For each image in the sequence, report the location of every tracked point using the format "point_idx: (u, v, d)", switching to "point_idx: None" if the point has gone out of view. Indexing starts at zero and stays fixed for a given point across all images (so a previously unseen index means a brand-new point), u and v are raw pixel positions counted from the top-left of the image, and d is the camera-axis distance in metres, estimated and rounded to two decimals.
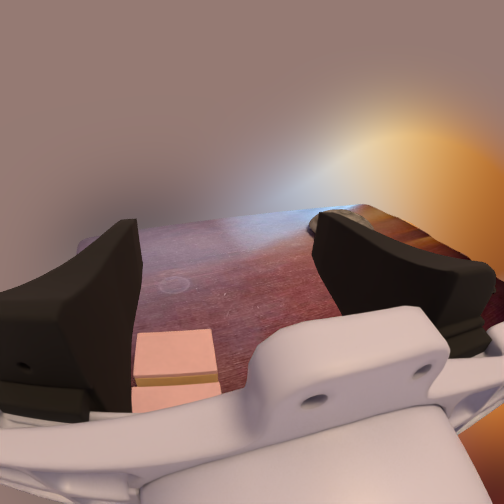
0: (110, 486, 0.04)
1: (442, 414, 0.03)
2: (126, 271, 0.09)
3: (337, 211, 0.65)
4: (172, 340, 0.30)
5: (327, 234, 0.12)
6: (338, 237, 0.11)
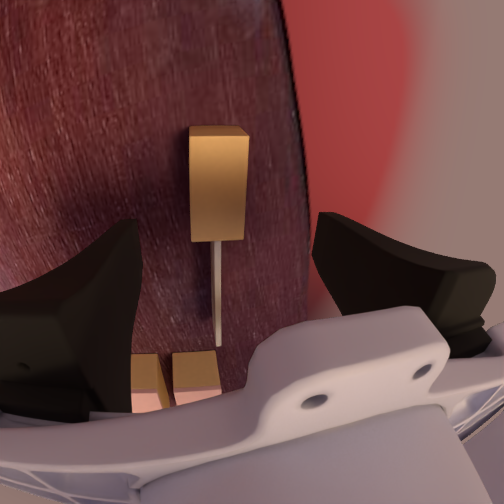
0: (110, 486, 0.04)
1: (442, 414, 0.03)
2: (126, 271, 0.09)
3: None
4: None
5: (327, 234, 0.12)
6: (338, 237, 0.11)
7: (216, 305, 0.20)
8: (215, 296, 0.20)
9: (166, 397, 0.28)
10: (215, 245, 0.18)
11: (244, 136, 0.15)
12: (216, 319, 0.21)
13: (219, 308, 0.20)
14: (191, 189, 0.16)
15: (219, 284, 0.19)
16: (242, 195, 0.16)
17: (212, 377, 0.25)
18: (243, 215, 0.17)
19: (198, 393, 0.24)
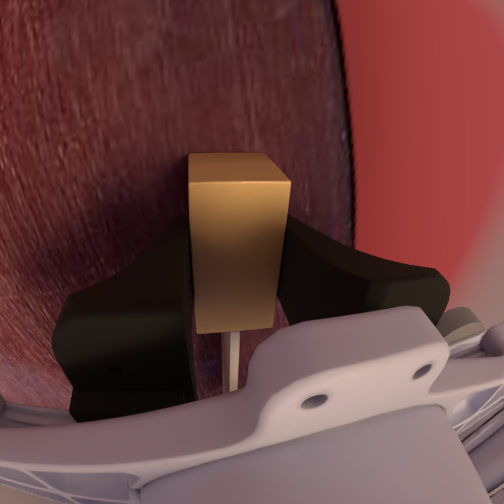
0: (110, 486, 0.04)
1: (442, 414, 0.03)
2: (189, 268, 0.10)
3: None
4: None
5: None
6: None
7: None
8: (230, 387, 0.14)
9: None
10: (231, 336, 0.12)
11: (283, 181, 0.09)
12: None
13: None
14: (194, 266, 0.10)
15: (236, 376, 0.13)
16: (275, 272, 0.11)
17: None
18: (274, 298, 0.11)
19: None
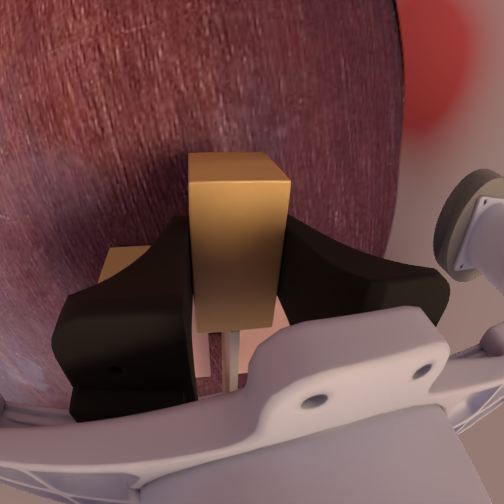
0: (110, 486, 0.04)
1: (442, 414, 0.03)
2: (189, 268, 0.10)
3: None
4: None
5: None
6: None
7: None
8: (230, 387, 0.14)
9: None
10: (231, 336, 0.12)
11: (283, 181, 0.09)
12: None
13: None
14: (194, 266, 0.10)
15: (236, 376, 0.13)
16: (275, 271, 0.11)
17: None
18: (274, 298, 0.11)
19: None
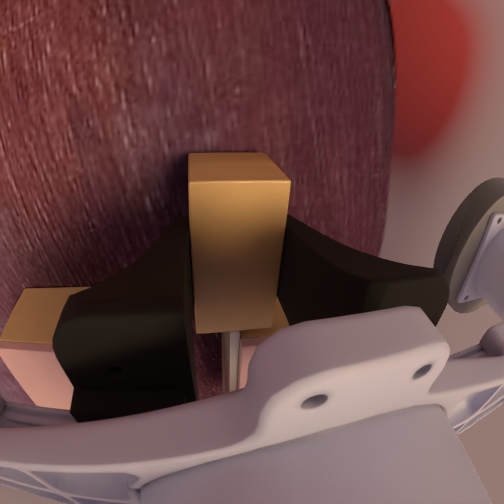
0: (110, 486, 0.04)
1: (442, 414, 0.03)
2: (189, 268, 0.10)
3: None
4: (51, 401, 0.12)
5: None
6: None
7: None
8: (230, 387, 0.14)
9: None
10: (231, 336, 0.12)
11: (283, 181, 0.09)
12: None
13: None
14: (194, 266, 0.10)
15: (235, 376, 0.13)
16: (274, 272, 0.11)
17: None
18: (274, 298, 0.11)
19: None
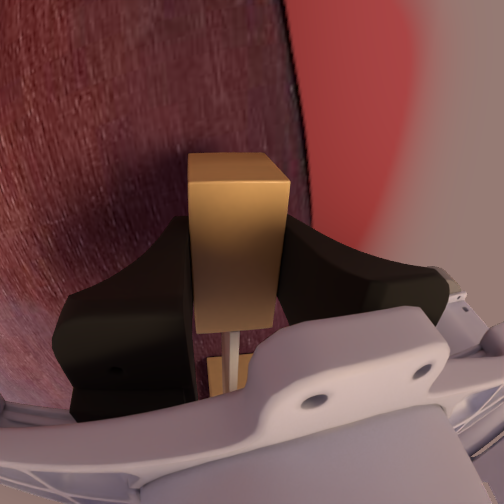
0: (110, 486, 0.04)
1: (442, 414, 0.03)
2: (189, 268, 0.10)
3: None
4: None
5: None
6: None
7: None
8: (229, 387, 0.14)
9: None
10: (231, 336, 0.12)
11: (282, 181, 0.09)
12: None
13: None
14: (194, 266, 0.10)
15: (235, 376, 0.13)
16: (274, 272, 0.11)
17: None
18: (274, 298, 0.11)
19: None
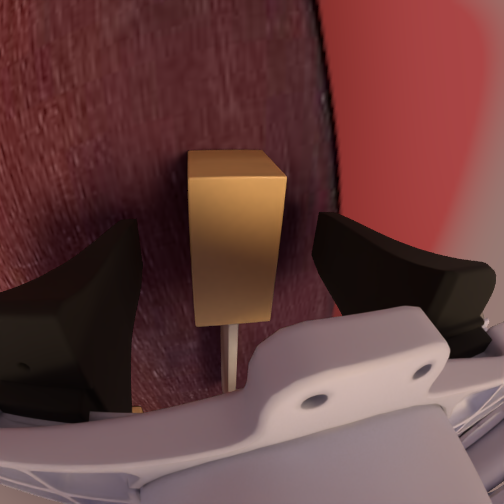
0: (110, 486, 0.04)
1: (442, 414, 0.03)
2: (126, 271, 0.09)
3: None
4: None
5: (327, 234, 0.12)
6: (338, 237, 0.11)
7: (230, 390, 0.15)
8: (228, 381, 0.14)
9: None
10: (230, 329, 0.12)
11: (279, 177, 0.09)
12: None
13: None
14: (193, 259, 0.10)
15: (234, 370, 0.14)
16: (272, 265, 0.11)
17: None
18: (271, 291, 0.12)
19: None
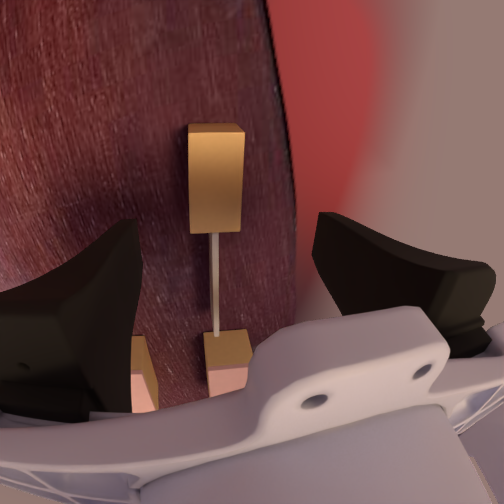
0: (110, 486, 0.04)
1: (442, 414, 0.03)
2: (127, 271, 0.09)
3: None
4: None
5: (327, 234, 0.12)
6: (338, 237, 0.11)
7: (214, 295, 0.21)
8: (213, 287, 0.21)
9: (154, 382, 0.28)
10: (213, 237, 0.19)
11: (240, 132, 0.16)
12: (214, 309, 0.22)
13: (217, 298, 0.21)
14: (190, 183, 0.16)
15: (217, 275, 0.20)
16: (238, 188, 0.17)
17: (246, 355, 0.25)
18: (239, 208, 0.18)
19: (233, 371, 0.24)
